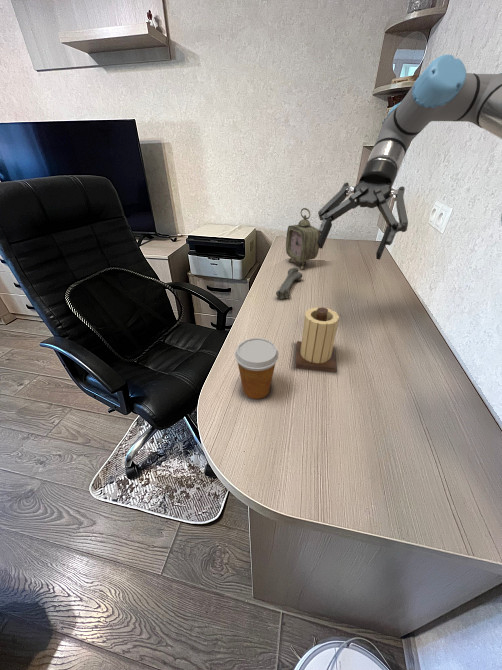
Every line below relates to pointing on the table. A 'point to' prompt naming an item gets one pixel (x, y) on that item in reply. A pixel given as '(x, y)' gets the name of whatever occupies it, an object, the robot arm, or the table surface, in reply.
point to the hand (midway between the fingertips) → (347, 250)
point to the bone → (288, 283)
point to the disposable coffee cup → (256, 366)
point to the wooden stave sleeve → (318, 336)
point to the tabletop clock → (302, 241)
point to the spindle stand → (305, 364)
